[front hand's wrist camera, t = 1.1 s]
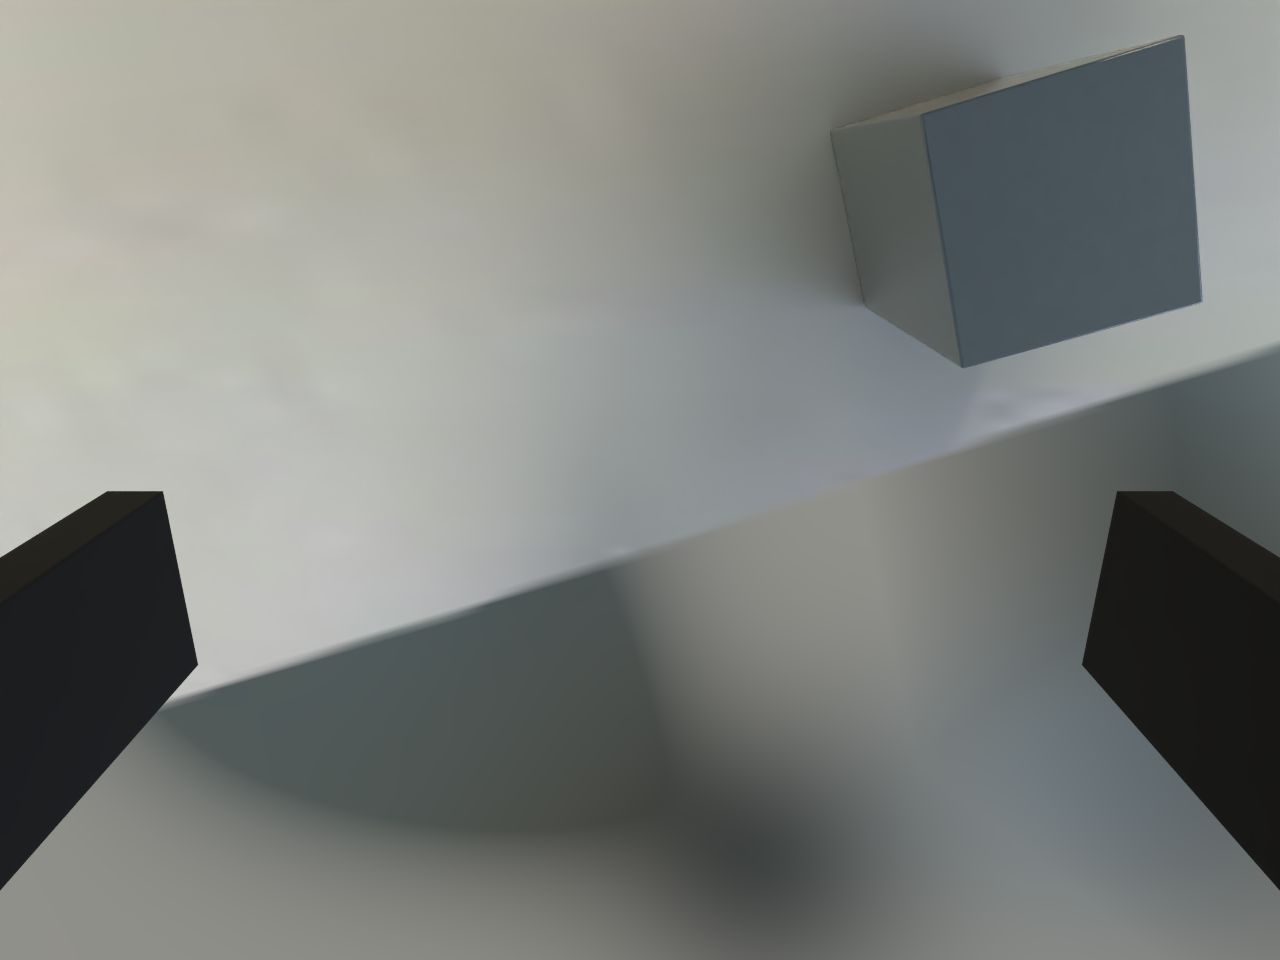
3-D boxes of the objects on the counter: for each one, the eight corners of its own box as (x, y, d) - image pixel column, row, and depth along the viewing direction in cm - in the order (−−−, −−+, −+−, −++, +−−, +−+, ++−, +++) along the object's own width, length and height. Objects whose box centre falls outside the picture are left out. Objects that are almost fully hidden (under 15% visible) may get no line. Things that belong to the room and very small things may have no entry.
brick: (829, 130, 27) (919, 114, 18) (1006, 76, 26) (1186, 33, 18) (864, 307, 29) (962, 369, 20) (1030, 260, 28) (1204, 303, 20)
